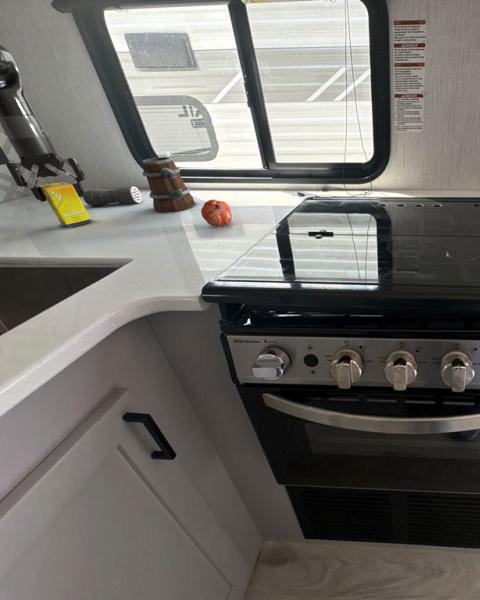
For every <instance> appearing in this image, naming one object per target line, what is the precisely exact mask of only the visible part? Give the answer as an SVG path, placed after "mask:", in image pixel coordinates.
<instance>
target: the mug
mask: <svg viewBox="0 0 480 600" xmlns="http://www.w3.org/2000/svg"><path fill="white" fill-rule="evenodd" d="M142 168H143V171H142V173H141V174H142V176H143V177H146V180H147V183H148V187H149V190H150V192H149V196H148V197H149V198H150V199H152V200H153V201H152V205H153V209H154V211H155V212H158V213H159V212H160V213H173V212H174V213H175V212H179V211H184V210H188V209H190V208H192V207H195V206H196V202H195V198H194V197H193V196H192V193H191V189H190V187H189V186H187V185H186V184H185V182H184V180H183V178H182V175H181V174H180V172H181V168H180V167H179V166H177V165H176V163H175V161H174V160H173V159H172V157H170V156H169V157H168V156H161V157H152V158H147V159H143V160H142Z"/></svg>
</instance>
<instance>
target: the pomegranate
mask: <svg viewBox="0 0 480 600" xmlns="http://www.w3.org/2000/svg"><path fill="white" fill-rule="evenodd" d="M200 214H201V217H202V218H203V219H204V221H206V223H207V224H208V225H210V226H213V227H221V226H227V225H228V224H230V223H231V222H232V219H233V216H232V211H231V208H230V205H229V204H228V203H227V202H225V201H223V200H218V199H217V200H216V199H209V200H207V201H205V202H204V204H203V206H202V207H201V210H200Z"/></svg>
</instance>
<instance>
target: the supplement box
mask: <svg viewBox="0 0 480 600" xmlns="http://www.w3.org/2000/svg"><path fill="white" fill-rule="evenodd" d="M38 187H40V189H41V191H42V192H43V194H44V196H45V198H46V201H47V202H48V204H49V206H50V208H51V209H52V211H53V213H54V215H55V217H56V218H57V220H58V222H59V223H60V224H61V225H63V226H65V227H66V228H71V227H75V226H80V225H84V224H88V223H92V219H91V217H90V215H89V213H88V211H87V209H86V208H85V206H84V204H83V202H82V200H81V197H79V196H78V194H77V192H76V191H75V189H74V187H73V185H72V183H68V182H66V181H62V182H61V181H60V182H53V183H48V184H42V185H39V186H38Z"/></svg>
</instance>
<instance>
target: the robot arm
mask: <svg viewBox="0 0 480 600" xmlns="http://www.w3.org/2000/svg"><path fill="white" fill-rule="evenodd" d="M0 127H1V129H2V131H3V134H4V135H5V136H6V138H7V139H8V141H9V143H10V144H11V147H12V148H13V149H14V151H15V153H16V154H17V156H18V158H19V161H8V162H6V163H5V166H6V167H7V169H8V171H9V173H10V175H11V176H12V178H13V180H14V182H15V184H16V186H18V187H20V188H22V187H24V188H28V189H29V190H31V193H32V194H33V196H34V198H35V199H36V200H37V201H40V202H41V203H44V202H46V201H47V199H46V197H45V196H44V194H43V192H42V191H41V189H40V187H39V186H38V182H39V180H40V178H47V177H58V176H59V177H61V178H63V179H65V180H67V181H69V182H70V183H71V185H73V187H74V189H75V191H76V192H77V194H78V196H79V198H83V196H84V194H85V192H86V190H85V189H84V187H83V186H82V184H81V182H83V181H85V179H86V178H87V176H86V174H85V172H84V171H83V169H82V167H81V166H80V163H79V162H78V160H77V158H76V157H74V156H70V157H67V158H62V157H60V155H59V154H58V151H56V148H55V146H54V144H53V143H52V141H51V139H50V136H49V135H48V133H47V131H46V129H45V128H44V126H43V124H42V122H41V121H40V119H39V118H38V117H37V115H36V113H35V111H34V110H33V108H32V106H31V104H30V102H29V100H28V98H27V96H26V92H25V88H24V83H23V79H22V75H21V71H20V67H19V64H18V61H17V60H16V58H15V56H14V55H13V54H12V52H11V51H10V50H9V49H8V48H7V47H6V46H5V45H3V44H2V43H0ZM65 164H66V165H67V166H68V167H71V169H72V170H73V172H74V174H75V175H73V174H72V173H71V172H69V171H68V170H67V169H65V168H64V166H65ZM22 168H24V169H26V170H27V171H29V172H30V173H29V176H28V180H26V179H25V176H24V175H23V173H22Z"/></svg>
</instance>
